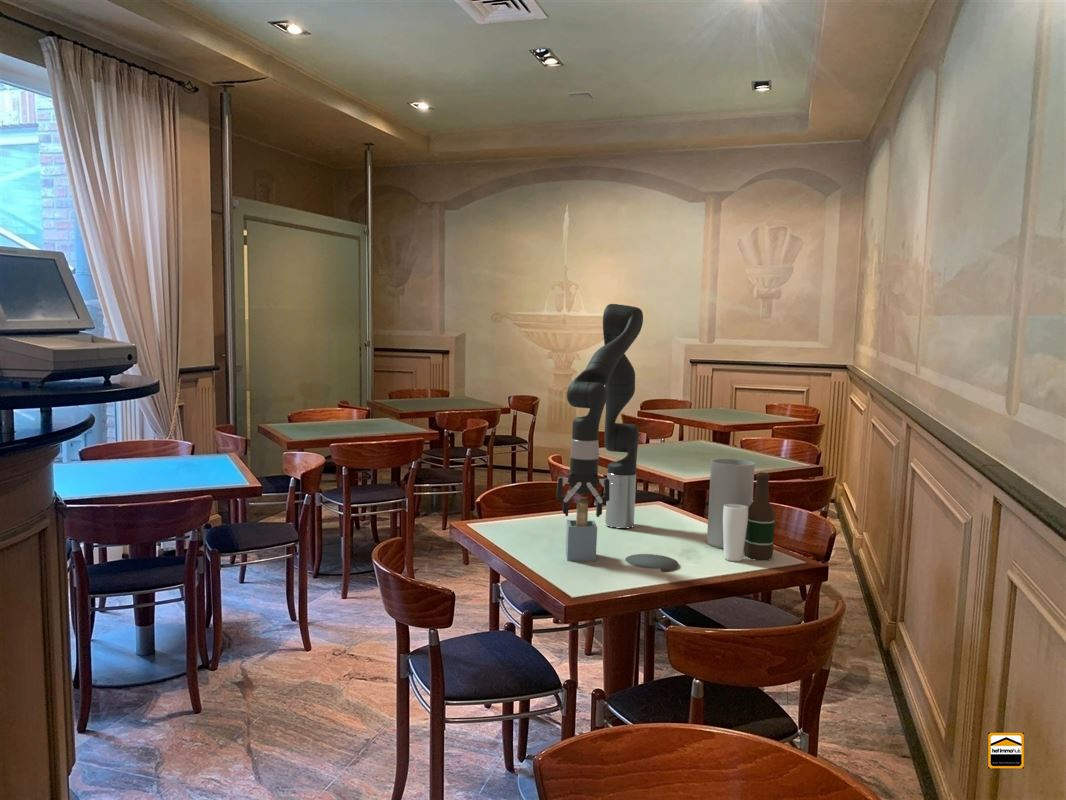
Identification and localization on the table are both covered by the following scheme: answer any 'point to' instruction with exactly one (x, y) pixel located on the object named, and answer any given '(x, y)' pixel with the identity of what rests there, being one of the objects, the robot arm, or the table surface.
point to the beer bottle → (760, 522)
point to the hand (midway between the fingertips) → (582, 515)
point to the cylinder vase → (727, 493)
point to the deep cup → (581, 541)
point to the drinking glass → (734, 531)
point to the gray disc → (652, 561)
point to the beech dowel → (582, 511)
